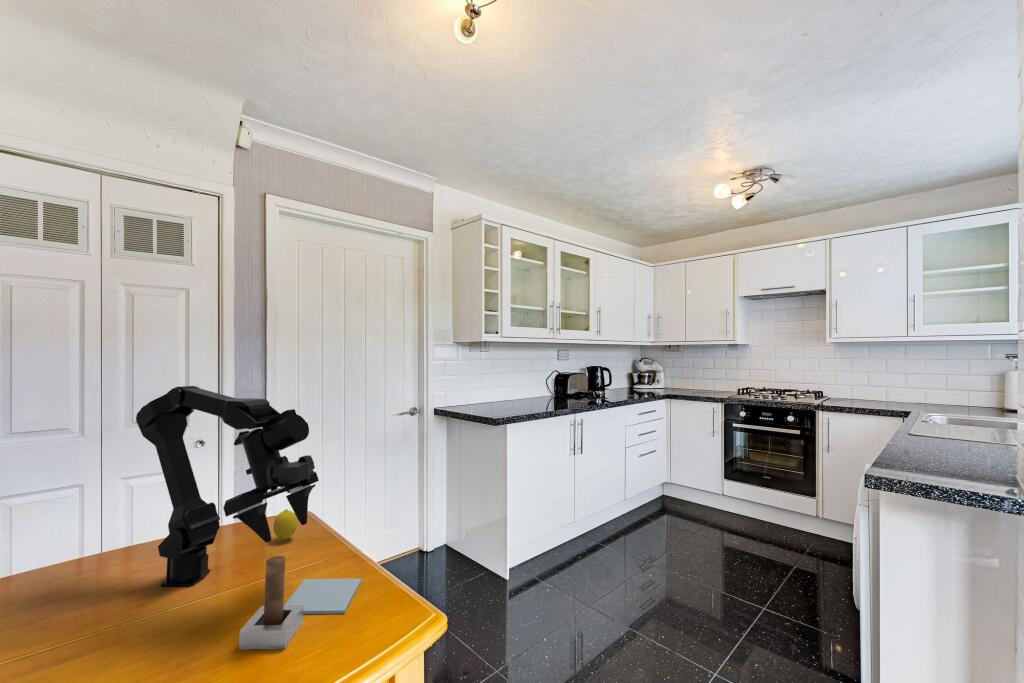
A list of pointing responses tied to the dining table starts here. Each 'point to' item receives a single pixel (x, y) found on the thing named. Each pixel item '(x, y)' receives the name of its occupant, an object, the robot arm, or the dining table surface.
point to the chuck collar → (271, 629)
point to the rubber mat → (325, 595)
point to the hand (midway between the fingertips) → (287, 532)
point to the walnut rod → (274, 590)
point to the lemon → (285, 524)
